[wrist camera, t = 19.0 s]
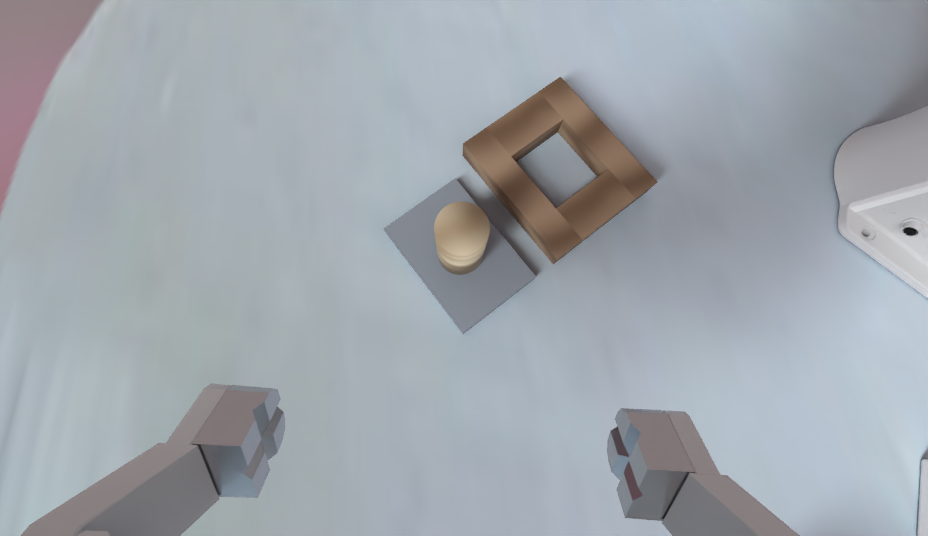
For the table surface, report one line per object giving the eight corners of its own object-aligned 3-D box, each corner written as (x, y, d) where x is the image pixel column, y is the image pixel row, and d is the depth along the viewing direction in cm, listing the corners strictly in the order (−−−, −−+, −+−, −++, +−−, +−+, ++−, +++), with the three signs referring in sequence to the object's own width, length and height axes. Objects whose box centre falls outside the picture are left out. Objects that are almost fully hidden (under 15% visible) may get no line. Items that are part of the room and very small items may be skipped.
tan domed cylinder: (492, 257, 43) (500, 233, 35) (455, 283, 42) (455, 265, 34) (465, 222, 44) (468, 191, 36) (428, 247, 43) (422, 221, 35)
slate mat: (534, 278, 44) (536, 276, 43) (463, 334, 42) (463, 333, 41) (455, 182, 46) (455, 178, 45) (385, 231, 44) (383, 228, 43)
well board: (646, 191, 46) (657, 181, 44) (553, 264, 44) (559, 257, 41) (554, 91, 48) (560, 76, 46) (462, 155, 46) (463, 143, 44)
